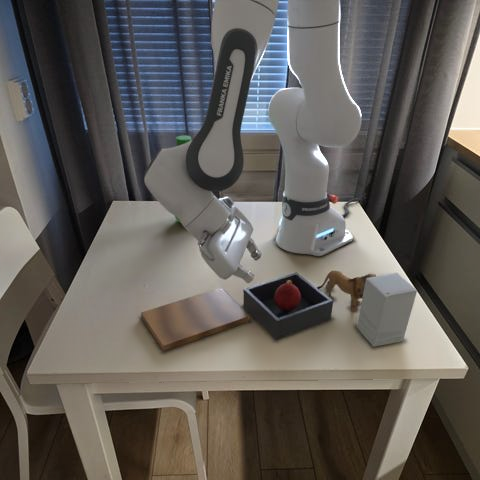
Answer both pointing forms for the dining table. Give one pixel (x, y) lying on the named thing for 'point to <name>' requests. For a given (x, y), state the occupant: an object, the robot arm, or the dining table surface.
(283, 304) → the red pomegranate
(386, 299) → the white packaging box
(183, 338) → the cutting board
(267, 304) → the tub
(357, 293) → the lion figurine
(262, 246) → the dining table surface
